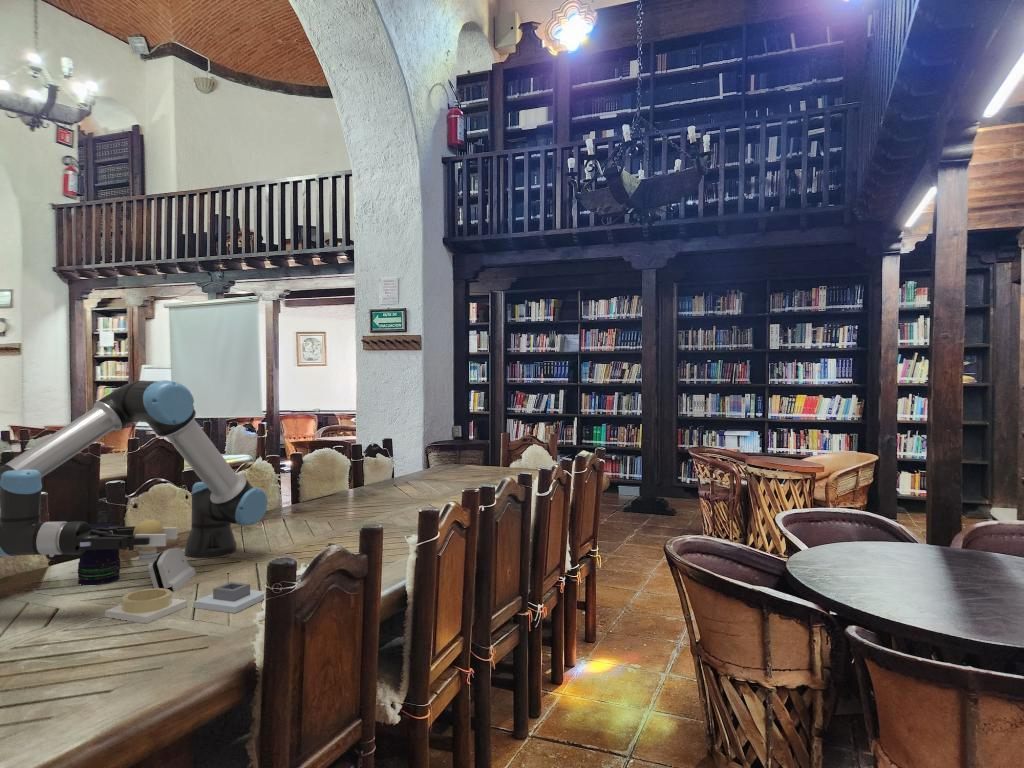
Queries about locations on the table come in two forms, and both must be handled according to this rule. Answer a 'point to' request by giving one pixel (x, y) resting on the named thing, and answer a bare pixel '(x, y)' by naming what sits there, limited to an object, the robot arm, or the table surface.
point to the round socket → (146, 605)
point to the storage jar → (99, 562)
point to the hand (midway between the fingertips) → (171, 536)
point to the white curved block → (170, 569)
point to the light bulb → (148, 528)
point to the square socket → (230, 598)
